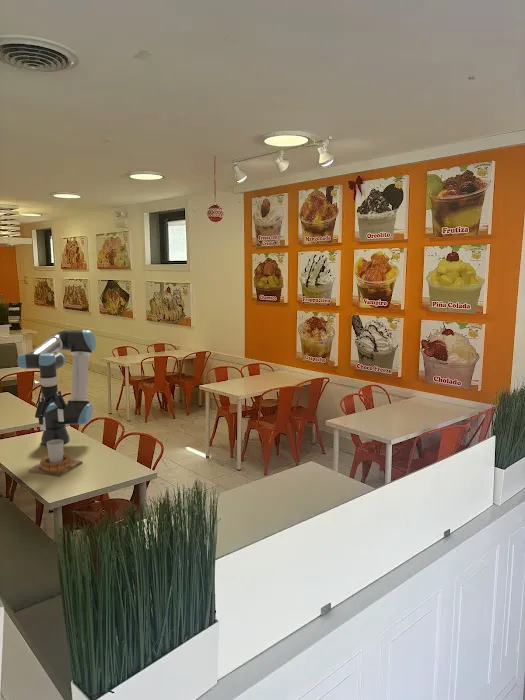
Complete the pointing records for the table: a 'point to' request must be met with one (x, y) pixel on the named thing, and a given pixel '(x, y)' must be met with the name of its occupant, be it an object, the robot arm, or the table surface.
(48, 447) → the cup
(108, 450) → the table surface
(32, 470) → the collar board
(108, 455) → the table surface
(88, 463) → the table surface
